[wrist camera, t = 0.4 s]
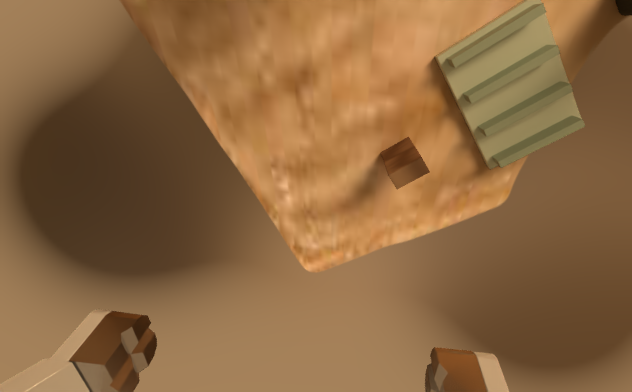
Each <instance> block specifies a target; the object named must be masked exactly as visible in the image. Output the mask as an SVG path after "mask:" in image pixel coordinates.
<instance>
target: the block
mask: <svg viewBox="0 0 632 392" xmlns="http://www.w3.org/2000/svg"><path fill="white" fill-rule="evenodd" d="M381 154H382V157H383V160H384V163H385V166H386V169H387V172H388V175H389V177H390V179H391V180H392V182H393V184H394V185H395V187H396V189H399V188H401V187H402V186H404V185H406V184H408V183H410V182H412V181H414V180H416V179H418V178H420V177H421V176H423V175H425V174H427V173H429V172H430V171H429V170H428V168H427V166H426V164H425V162H424V161H423V159H422V157H421V155H420V154H419V152H418V151H417V149H416V148H415V146H414V145H413V143H412V141H411V140H410V138H409V137H407V138H405V139H404V140H402V141H400V142H398V143H397V144H395V145H393V146H391V147H390V148H388V149H386V150H384V151H383V152H381Z"/></svg>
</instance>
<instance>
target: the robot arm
mask: <svg viewBox="0 0 632 392" xmlns="http://www.w3.org/2000/svg"><path fill="white" fill-rule="evenodd" d="M150 324H151V322H150V320H149V317H148V316H147V315H139V314H131V313H124V312H117V311H110V310H101V309H96V310H94V311H93V312H91V313H90V314H89V315H88V316H87V317H86V318H85V319H84V320H83V322H82V323H81V324H80V325H79V326H78V327H77V329H75V331H74V332H73V333H72V334H71V335H70V336H69V337H68V339H67V340H66V341H65V342H64V343H63V344H62V346H61V347H60V348H59V349H58V350H57V351H56V352H55V353H54V355H53V356H52V357H51V358H50V359H43V360H41V361H40V362H38V363H36V364H34V365H33V366H31V367H29V368H28V369H26V370H24V371H22V372H21V373H19V374H17V375H16V376H14V377H12V378H10V379H8V380H7V381H5V382H3V383H1V384H0V392H133V391H134V390H135V388H136V386H137V384H138V383H139V372H141V371H142V370H144V369H145V368H146V367H148V366H149V364H150V362H151V360H152V359H153V357H154V354H155V350H156V347H157V338H156V335H155V333H154V332H153V331H152V330H151V329H149V328H148V327H149V325H150ZM430 357H431V364H429V365H427V369H426V374H425V375H426V376H425V391H426V392H509V390H508V387H507V384H506V381H505V379H504V376H503V373H502V370H501V368H500V365H499V362H498V359H497V358H496V357H495V356H494V354H491V353H480V352H472V351H467V350H456V349H446V348H435V347H434V348H433V349H432V351H431V355H430Z"/></svg>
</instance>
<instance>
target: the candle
mask: <svg viewBox="0 0 632 392" xmlns="http://www.w3.org/2000/svg"><path fill="white" fill-rule="evenodd" d="M616 4H617V7H618V10H619V12H620V14H621V15H632V0H616Z"/></svg>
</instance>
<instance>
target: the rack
mask: <svg viewBox="0 0 632 392" xmlns="http://www.w3.org/2000/svg"><path fill="white" fill-rule="evenodd" d="M545 13H546V10H545V7H544V4H543V3H542V2H541V0H523V1H522V2H520V3H519V4H517V5H515V6H514V7H512V8H511V9H509V10H508V11H506V12H504V13H503V14H501V15H500V16H498V17H496V18H495V19H493V20H492V21H490V22H489V23H487V24H485V25H484V26H482V27H481V28H479V29H477V30H476V31H474V32H473V33H471V34H469V35H468V36H466V37H465V38H463V39H462V40H460V41H458V42H457V43H455V44H454V45H452V46H450V47H449V48H447V49H446V50H444V51H443V52H441V53H439V54H438V55H436V56H435V59H436V61H437V63H438V65H439V67H440V69H441V71H442V74H443V76H444V78H445V80H446V82H447V84H448V86H449V88H450V90H451V92H452V94H453V97H454V99H455V101H456V103H457V105H458V107H459V109H460V111H461V113H462V115H463V117H464V120H465V122H466V124H467V126H468V128H469V130H470V132H471V134H472V136H473V138H474V140H475V143H476V145H477V147H478V149H479V151H480V153H481V155H482V157H483V159H484V161H485V163H486V166H487V167H488V168H489V169H490V170H491V169H493V168H495V167H497V166H500V167H501V168H502V167H504V166H506V165H508V164H510V163H512V162H514V161H516V160H518V159H520V158H522V157H524V156H526V155H528V154H530V153H532V152H534V151H536V150H538V149H540V148H542V147H544V146H546V145H548V144H550V143H552V142H554V141H556V140H558V139H560V138H562V137H564V136H566V135H569V134H570V133H572V132H574V131H576V130H578V129H581V128H583V127H585V125H584V122H583V119H581V116H580V113H579V110H578V107H577V104H576V102H575V99H574V96H573V93H572V92H573V89H572V86H571V84H570V83H569V81H568V78H567V75H566V72H565V69H564V66H563V63H562V61H561V58H560V55H559V54H560V51H559V48H558V45H556V43H555V40H554V37H553V34H552V31H551V28H550V25H549V23H548V20H547V17H546V14H545Z"/></svg>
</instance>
